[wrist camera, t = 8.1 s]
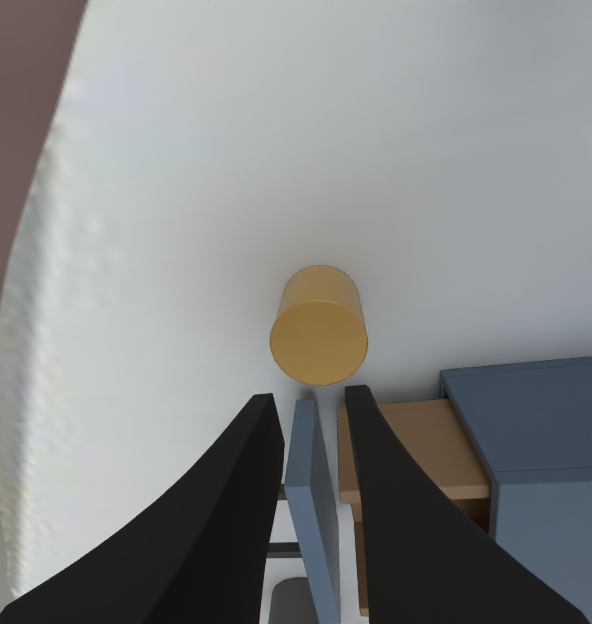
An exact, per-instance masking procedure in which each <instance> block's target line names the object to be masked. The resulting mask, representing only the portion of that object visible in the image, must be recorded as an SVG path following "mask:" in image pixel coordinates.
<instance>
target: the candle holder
mask: <svg viewBox="0 0 592 624" xmlns="http://www.w3.org/2000/svg"><path fill="white" fill-rule="evenodd" d="M340 617H341V613H340ZM268 624H320V623H319V619H318V615H317V611H316V608H315V604H314V600H313V596H312V592H311V589H310V585H309V581H308V578H294V579H289V580H284V581H283V582H281V583H280V584H278V585H276V587H275V589H274V591H273V593H272V599H271V606H270V614H269V621H268Z"/></svg>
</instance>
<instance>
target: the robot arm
mask: <svg viewBox="0 0 592 624" xmlns="http://www.w3.org/2000/svg"><path fill="white" fill-rule="evenodd" d="M345 403H346V410H347V417H348V423H349V430H350V437H351V444H352V451H353V458H354V465H355V471H356V477H357V482H358V488H359V493H360V499H361V507H362V521H363V535H364V549H365V564H366V579H367V595H368V611H369V624H591V623H590V622H589V620H588V619H587V618H586V616H585V615H584V614H583V612H582V611H581V610H579V609H578V608H577V607H575V606H574V605H573V604H571V603H570V602H569V601H567V600H566V599H565V598H564V597H562V596H561V595H560V594H558V593H557V592H556V591H555V590H553V589H552V588H551V587H549V586H548V585H547V584H546V583H544V582H543V581H542V580H541V579H539V578H538V577H537V576H536V575H534V574H533V573H532V572H531V571H529V570H528V569H527V568H526V567H524V566H523V565H522V564H521V563H520V562H518V561H517V560H516V559H515V558H514V557H513V556H511V555H510V554H509V553H508V552H507V551H505V550H504V549H503V548H502V547H501V546H500V545H498V544H497V543H496V542H495V541H494V540H493V539H492V538H490V537H489V536H488V535H487V534H486V533H485V532H484V531H483V530H482V529H481V528H480V527H479V526H478V525H477V524H475V523H474V522H473V521H472V520H471V519H470V518H469V517H468V516H467V515H466V514H465V513H464V512H463V511H462V510H460V509H459V508H458V507H457V506H456V505H455V504H454V503H453V502H452V501H451V500H450V499H449V498H448V497H447V496H446V494H445V493H444V492H443V491H442V490H441V489H440V488H439V487H438V486H437V485H436V484H435V483H434V482H433V481H432V479H431V478H430V477H429V476H428V475H427V474H426V473H425V472H424V470H423V469H422V468H421V467H420V466H419V465H418V463H417V462H416V461H415V460H414V458H413V457H412V456H411V455H410V453H409V452H408V451H407V449H406V448H405V447H404V446H403V444H402V443H401V442H400V440H399V439H398V437H397V436H396V435H395V433H394V432H393V430H392V429H391V427H390V426H389V424H388V423H387V421H386V420H385V418H384V416H383V415H382V413H381V411H380V410H379V408H378V406H377V404H376V402H375V400H374V398H373V396H372V394H371V391H370V388H369V387H368V386H366V385H358V386H347V387H345ZM284 447H285V442H284V438H283V434H282V430H281V426H280V422H279V418H278V413H277V409H276V405H275V401H274V397H273V393H268V394H256V395H253V396H252V398H251V399H250V400H249V401H248V402H247V403H246V405H245V406H244V407H243V408H242V410H241V411H240V412H239V413H238V415H237V416H236V417H235V418H234V420H233V421H232V422H231V423H230V424H229V426H228V427H227V428H226V429H225V430H224V432H223V433H222V434H221V435H220V436H219V437H218V439H217V440H216V441H215V442H214V443H213V445H212V446H211V447H210V448H209V449H208V450H207V451H206V452H205V453H204V454H203V455H202V456H201V457H200V459H199V460H198V461H197V462H196V463H195V464H194V465H193V466H192V467H191V468H190V469H189V470H188V471H187V472H186V473H185V474H184V475H183V476H182V477H181V478H180V479H179V480H178V481H177V482H176V483H175V484H174V485H173V486H171V487H170V488H169V489H168V490H167V491H166V492H165V493H164V494H163V495H162V496H160V497H159V498H158V499H157V500H156V501H155V502H153V503H152V504H151V505H150V506H149V507H147V508H146V509H145V510H144V511H142V512H141V513H140V514H139V515H138V516H136V517H135V518H134V519H133V520H131V521H130V522H129V523H128V524H126V525H125V526H124V527H123V528H121V529H120V530H119V531H118V532H116V533H115V534H114V535H112V536H111V537H109V538H108V539H107V540H105V541H104V542H103V543H101V544H100V545H99V546H97V547H96V548H94V549H93V550H92V551H90V552H89V553H87V554H86V555H84V556H83V557H82V558H80V559H79V560H77V561H76V562H74V563H73V564H71V565H70V566H68V567H67V568H65V569H64V570H62V571H61V572H59V573H58V574H56V575H54V576H53V577H51V578H50V579H48V580H47V581H45V582H43V583H42V584H40V585H39V586H37V587H36V588H34V589H32V590H31V591H29V592H28V593H26V594H24V595H23V596H21V597H20V598H18V599H16V600H15V601H13V602H11V603H10V604H8V605H7V606H6V607H5V608H4V609H3V611H2V612H1V613H0V624H259V619H260V609H261V599H262V590H263V581H264V571H265V565H266V558H267V552H268V547H269V542H270V537H271V531H272V526H273V521H274V516H275V511H276V506H277V501H278V496H279V491H280V485H281V480H282V474H283V462H284Z"/></svg>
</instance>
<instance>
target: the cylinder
mask: <svg viewBox="0 0 592 624" xmlns="http://www.w3.org/2000/svg"><path fill="white" fill-rule="evenodd" d="M367 348H368V338H367V333H366V328H365V323H364V318H363V313H362V308H361V304H360V299H359V294H358V290H357V288H356V286H355V284H354V282H353V281H352V279H351V278H350V277H349V276H348V275H347V274H345V273H344V272H343V271H341V270H339V269H337V268H334V267H331V266H326V265H317V266H311V267H308V268H305V269H303V270H301V271H300V272H298V273H297V274H296V275H294V276H293V277H292V279H291V280H290V281H289V283H288V284H287V286H286V289H285V291H284V294H283V297H282V300H281V303H280V306H279V309H278V312H277V315H276V318H275V320H274V323H273V326H272V329H271V333H270V349H271V352H272V355H273V357H274V360H275V361H276V363H277V364H278V366H279V367H280V368H281V369H282V370H283V371H284V372H285V373H286V374H287V375H289V376H290V377H292V378H293V379H295V380H297V381H300V382H303V383H306V384H311V385H329V384H334V383H337V382H340V381H342V380H344V379H346V378H348V377H349V376H351V375H352V374H353V373H354V372H355V371H356V370H357V369H358V368H359V367H360V365H361V364H362V362H363V361H364V358H365V356H366V353H367Z"/></svg>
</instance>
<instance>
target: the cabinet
mask: <svg viewBox="0 0 592 624" xmlns="http://www.w3.org/2000/svg"><path fill="white" fill-rule="evenodd" d="M449 398H450V400H451V402H452V404H453V406H454V408H455V410H456V412H457V414H458V416H459V418H460V420H461V422H462V424H463V426H464V428H465V430H466V432H467V434H468V436H469V438H470V440H471V442H472V444H473V446H474V448H475V450H476V452H477V454H478V456H479V458H480V461H481V463H482V465H483V467H484V469H485V471H486V473H487V475H488V477H489V479H490V481H491V482H492V492H491V507H490V522H489V537H490V538H492V539H493V540H494V541H495V542H496V543H497V544H498V545H500V546H501V547H502V548H503V549H504V550H505V551H507V552H508V553H509V554H510V555H511V556H513V557H514V558H515V559H516V560H517V561H518V562H520V563H521V564H522V565H523V566H524V567H526V568H527V569H528V570H529V571H531V572H532V573H533V574H534V575H536V576H537V577H538V578H539V579H541V580H542V581H543V582H544V583H546V584H547V585H548V586H549V587H551V588H552V589H553V590H555V591H556V592H557V593H558V594H560V595H561V596H562V597H564V598H565V599H566V600H567V601H569V602H570V603H571V604H573V605H574V606H575V607H577V608H578V609H579V610H581V611H582V612H583V614H584V615H585V616H586V618H587V619H588V620H589V622H590V623H591V624H592V357H582V358H571V359H560V360H549V361H538V362H527V363H516V364H505V365H494V366H484V367H473V368H462V369H451V370H441V371H440V399H449Z"/></svg>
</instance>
